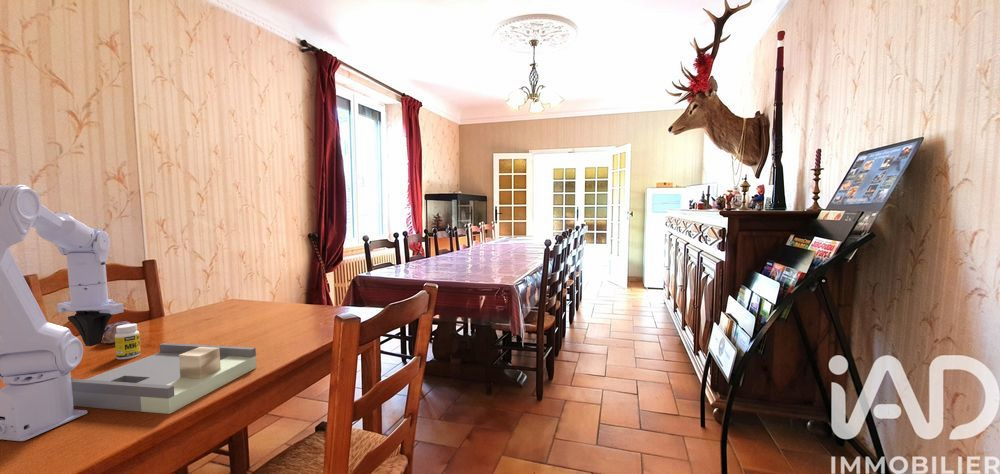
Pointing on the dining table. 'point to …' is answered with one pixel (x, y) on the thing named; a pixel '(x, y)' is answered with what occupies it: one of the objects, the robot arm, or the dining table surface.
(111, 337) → the skull
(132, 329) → the supplement bottle
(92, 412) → the dining table surface
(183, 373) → the birch block
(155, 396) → the board
